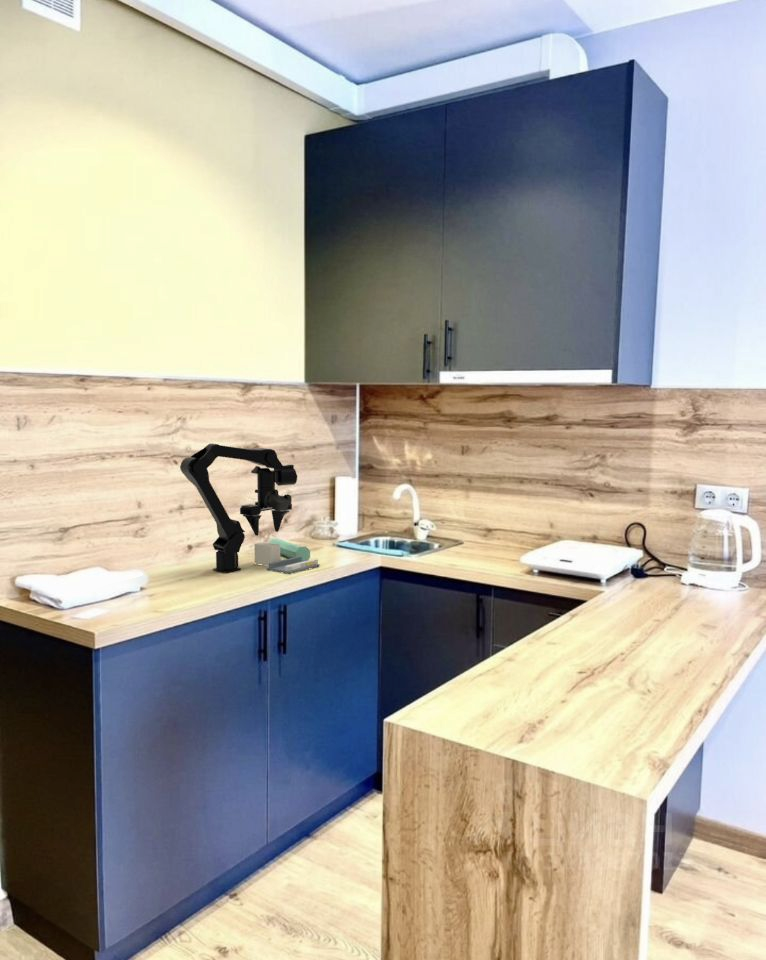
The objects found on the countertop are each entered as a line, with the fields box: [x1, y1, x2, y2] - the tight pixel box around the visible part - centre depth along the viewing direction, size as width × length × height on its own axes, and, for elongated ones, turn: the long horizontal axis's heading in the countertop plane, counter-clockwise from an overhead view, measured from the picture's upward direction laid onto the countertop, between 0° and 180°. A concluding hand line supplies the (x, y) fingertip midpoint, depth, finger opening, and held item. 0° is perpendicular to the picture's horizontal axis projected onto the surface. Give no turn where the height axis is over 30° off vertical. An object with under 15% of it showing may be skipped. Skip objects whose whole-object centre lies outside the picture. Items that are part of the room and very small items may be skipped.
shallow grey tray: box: [266, 556, 321, 575], centre depth 244 cm, size 14×10×2 cm
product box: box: [253, 541, 281, 567], centre depth 250 cm, size 4×8×7 cm, turn 53°
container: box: [268, 538, 311, 561], centre depth 264 cm, size 6×6×25 cm
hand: (266, 533), depth 249 cm, fingers open, 9 cm apart
